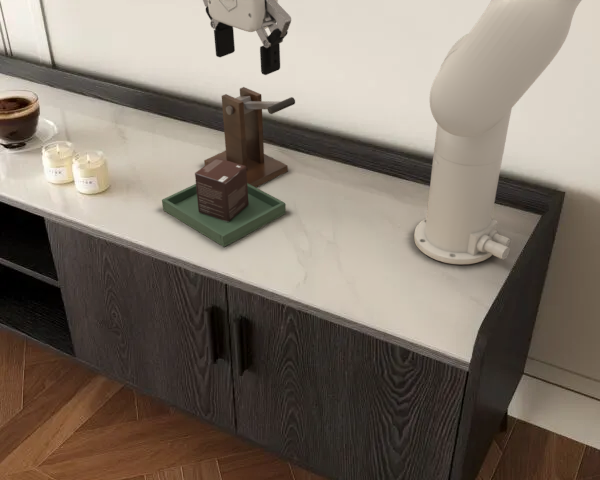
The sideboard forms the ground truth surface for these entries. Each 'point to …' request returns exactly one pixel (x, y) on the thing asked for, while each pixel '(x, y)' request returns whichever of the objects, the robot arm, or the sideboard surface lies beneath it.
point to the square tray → (222, 232)
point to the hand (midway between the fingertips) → (247, 63)
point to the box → (222, 189)
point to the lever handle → (265, 104)
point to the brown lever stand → (247, 140)
